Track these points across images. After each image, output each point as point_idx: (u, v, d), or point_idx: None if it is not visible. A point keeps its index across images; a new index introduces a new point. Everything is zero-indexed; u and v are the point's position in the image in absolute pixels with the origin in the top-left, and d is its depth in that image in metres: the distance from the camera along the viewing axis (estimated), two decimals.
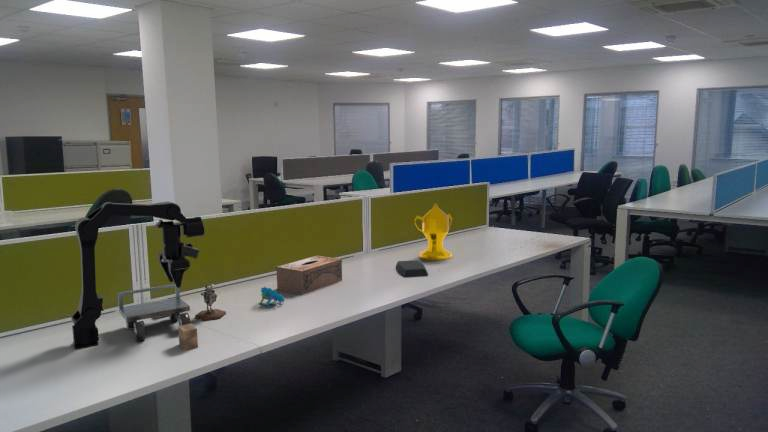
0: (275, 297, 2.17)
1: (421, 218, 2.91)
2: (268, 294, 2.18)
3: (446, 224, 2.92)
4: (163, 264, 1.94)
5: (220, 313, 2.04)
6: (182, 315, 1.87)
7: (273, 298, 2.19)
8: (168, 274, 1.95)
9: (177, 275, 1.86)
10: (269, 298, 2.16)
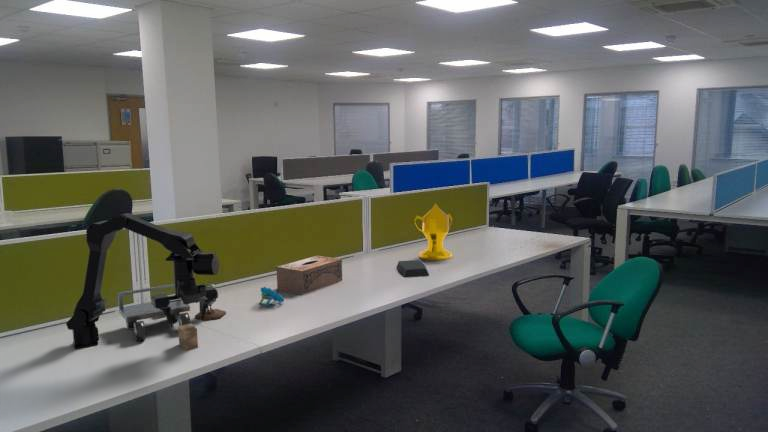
0: (275, 297, 2.17)
1: (421, 218, 2.91)
2: (268, 294, 2.18)
3: (446, 224, 2.92)
4: (199, 299, 1.78)
5: (220, 313, 2.04)
6: (182, 315, 1.87)
7: (273, 298, 2.19)
8: (200, 311, 1.78)
9: (166, 313, 1.71)
10: (269, 298, 2.16)
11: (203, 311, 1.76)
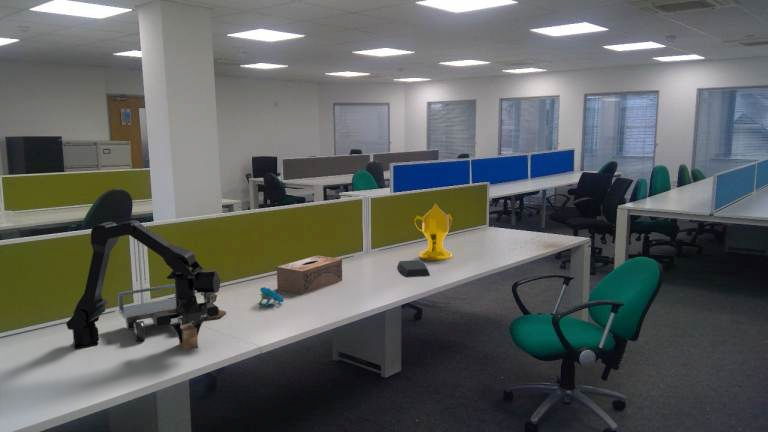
0: (274, 297, 2.17)
1: (421, 218, 2.91)
2: (267, 294, 2.18)
3: (446, 224, 2.92)
4: None
5: (220, 313, 2.04)
6: None
7: (272, 298, 2.19)
8: None
9: None
10: (268, 298, 2.16)
11: None
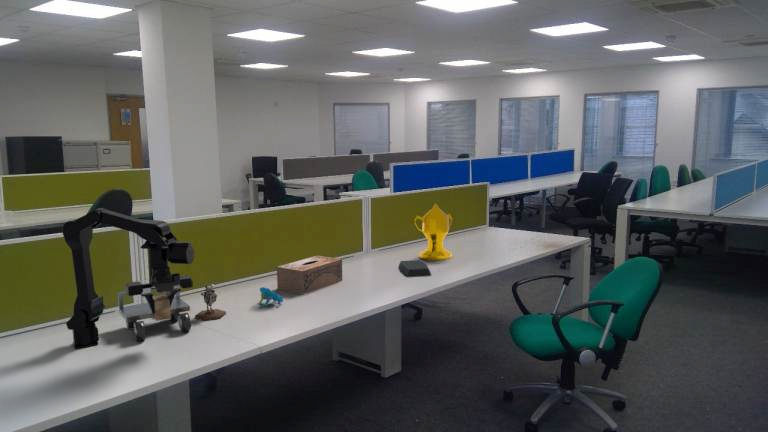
0: (274, 297, 2.17)
1: (421, 218, 2.91)
2: (267, 294, 2.18)
3: (446, 224, 2.92)
4: None
5: (220, 313, 2.04)
6: (182, 315, 1.87)
7: (272, 298, 2.19)
8: None
9: (148, 299, 1.72)
10: (268, 298, 2.16)
11: None
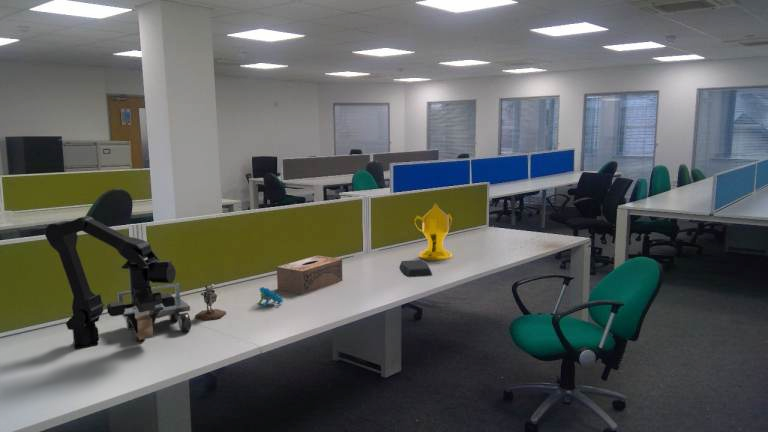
0: (273, 297, 2.17)
1: (421, 218, 2.91)
2: (267, 294, 2.17)
3: (446, 224, 2.92)
4: None
5: (220, 313, 2.04)
6: (182, 315, 1.87)
7: (272, 298, 2.19)
8: None
9: None
10: (267, 298, 2.16)
11: (152, 320, 1.75)
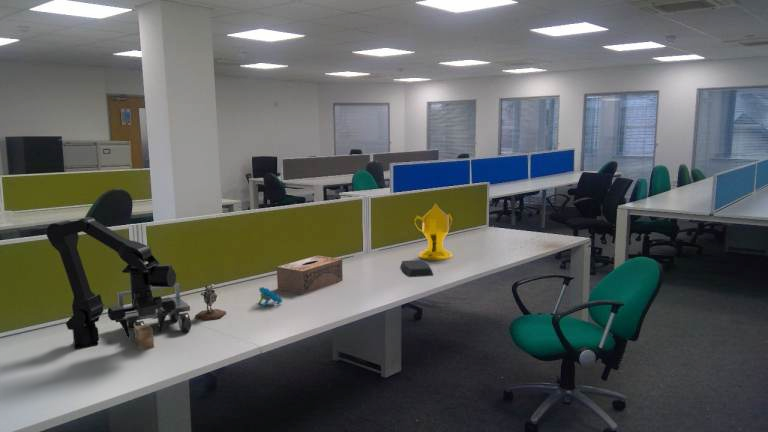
0: (273, 297, 2.17)
1: (421, 218, 2.91)
2: (266, 294, 2.17)
3: (446, 224, 2.92)
4: (158, 310, 1.79)
5: (220, 313, 2.04)
6: (182, 315, 1.87)
7: (272, 298, 2.19)
8: (158, 323, 1.78)
9: None
10: (267, 298, 2.16)
11: (161, 323, 1.77)
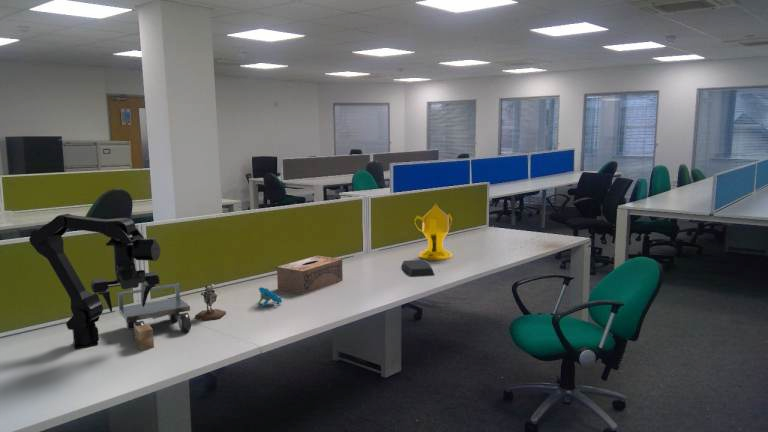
0: (273, 298, 2.17)
1: (421, 218, 2.91)
2: (266, 294, 2.17)
3: (446, 224, 2.92)
4: (142, 285, 1.79)
5: (220, 313, 2.04)
6: (182, 315, 1.87)
7: (271, 298, 2.19)
8: (142, 297, 1.78)
9: None
10: (266, 298, 2.16)
11: (144, 297, 1.77)
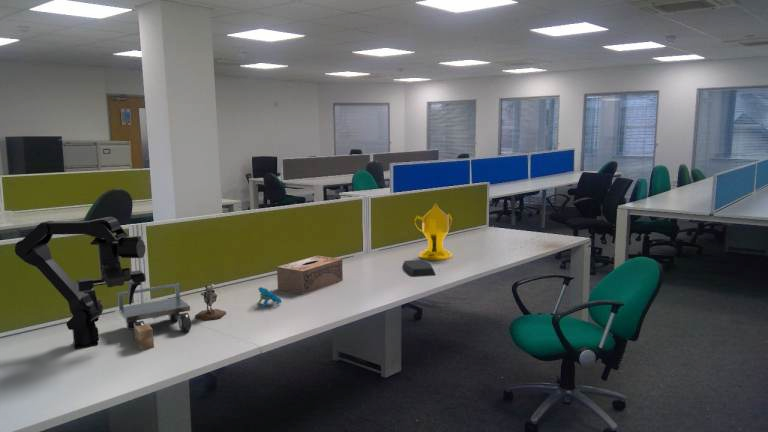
0: (272, 298, 2.16)
1: (421, 218, 2.91)
2: (266, 294, 2.17)
3: (446, 224, 2.92)
4: (128, 283, 1.80)
5: (220, 313, 2.04)
6: (182, 315, 1.87)
7: (271, 299, 2.19)
8: (128, 295, 1.79)
9: None
10: (266, 298, 2.15)
11: (130, 295, 1.77)
